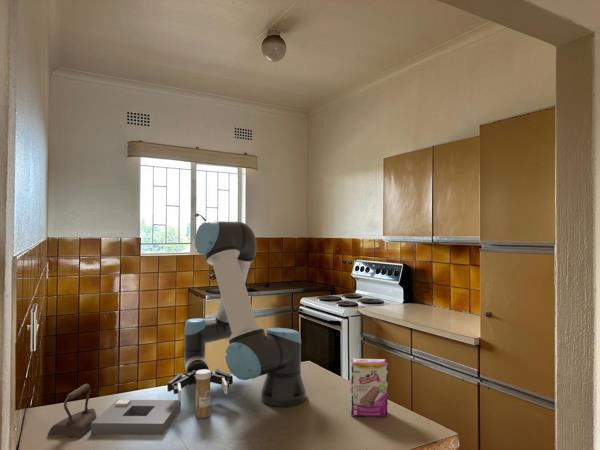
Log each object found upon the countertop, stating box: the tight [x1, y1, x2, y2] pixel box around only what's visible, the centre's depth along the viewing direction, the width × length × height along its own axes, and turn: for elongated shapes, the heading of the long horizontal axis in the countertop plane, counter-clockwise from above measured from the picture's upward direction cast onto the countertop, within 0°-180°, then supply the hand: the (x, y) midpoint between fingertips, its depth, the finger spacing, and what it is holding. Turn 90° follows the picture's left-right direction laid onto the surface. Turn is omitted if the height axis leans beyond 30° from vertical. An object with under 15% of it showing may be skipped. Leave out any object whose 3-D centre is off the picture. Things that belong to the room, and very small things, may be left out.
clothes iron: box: [47, 383, 98, 439], centre depth 116 cm, size 14×10×11 cm
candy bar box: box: [349, 357, 389, 418], centre depth 125 cm, size 11×5×16 cm, turn 89°
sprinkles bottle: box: [194, 369, 212, 419], centre depth 123 cm, size 5×5×14 cm
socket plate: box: [90, 399, 182, 436], centre depth 119 cm, size 20×16×4 cm
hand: (203, 392), depth 121 cm, fingers open, 13 cm apart
